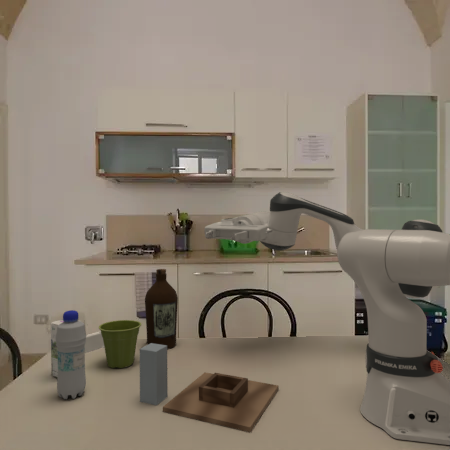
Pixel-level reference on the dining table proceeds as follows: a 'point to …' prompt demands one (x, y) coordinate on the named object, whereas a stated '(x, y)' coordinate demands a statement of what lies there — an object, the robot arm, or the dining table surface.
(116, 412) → the dining table surface
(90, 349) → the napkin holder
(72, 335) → the bottle
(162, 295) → the olive oil
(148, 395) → the grey peg
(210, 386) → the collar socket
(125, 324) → the plant pot
